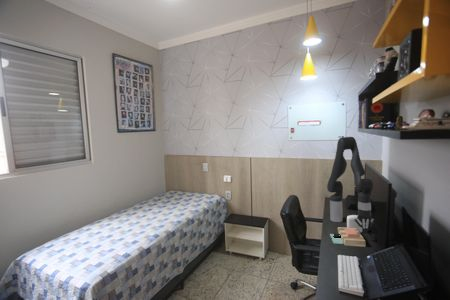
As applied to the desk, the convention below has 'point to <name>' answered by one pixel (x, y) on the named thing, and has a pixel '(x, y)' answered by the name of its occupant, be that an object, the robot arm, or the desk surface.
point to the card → (350, 232)
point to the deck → (351, 238)
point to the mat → (336, 240)
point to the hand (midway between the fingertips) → (364, 233)
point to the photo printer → (353, 223)
